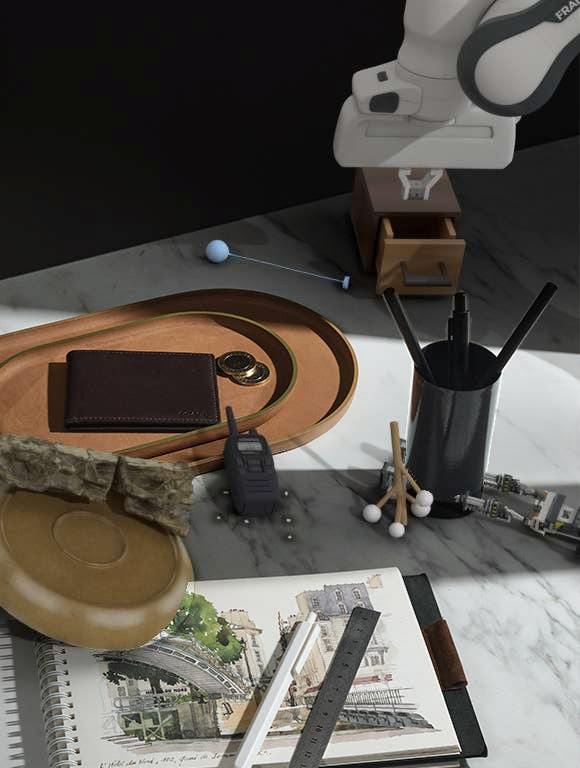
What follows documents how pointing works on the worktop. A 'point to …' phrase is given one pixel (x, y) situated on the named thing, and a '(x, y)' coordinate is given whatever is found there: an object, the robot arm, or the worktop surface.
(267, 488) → the two-way radio
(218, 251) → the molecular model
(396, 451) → the cotton branch
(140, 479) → the fossil
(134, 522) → the plant saucer
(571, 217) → the worktop surface
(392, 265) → the drawer
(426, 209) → the cabinet
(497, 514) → the toy
